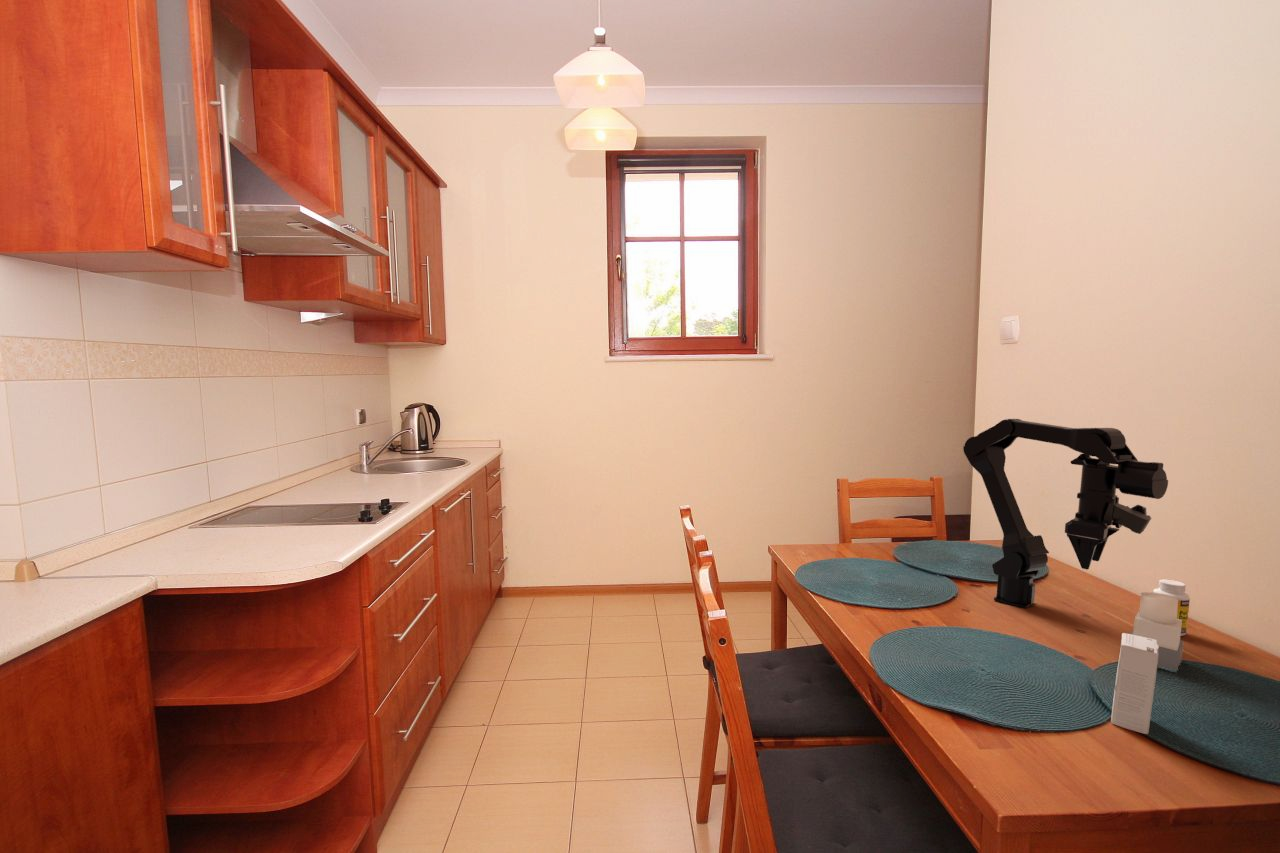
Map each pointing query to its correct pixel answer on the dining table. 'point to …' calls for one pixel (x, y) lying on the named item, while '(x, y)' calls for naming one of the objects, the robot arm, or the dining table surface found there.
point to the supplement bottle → (1177, 592)
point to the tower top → (1159, 632)
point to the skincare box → (1135, 683)
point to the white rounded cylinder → (1158, 608)
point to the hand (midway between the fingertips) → (1090, 564)
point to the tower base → (1169, 656)
